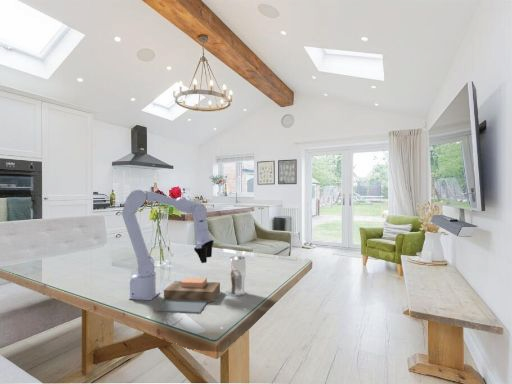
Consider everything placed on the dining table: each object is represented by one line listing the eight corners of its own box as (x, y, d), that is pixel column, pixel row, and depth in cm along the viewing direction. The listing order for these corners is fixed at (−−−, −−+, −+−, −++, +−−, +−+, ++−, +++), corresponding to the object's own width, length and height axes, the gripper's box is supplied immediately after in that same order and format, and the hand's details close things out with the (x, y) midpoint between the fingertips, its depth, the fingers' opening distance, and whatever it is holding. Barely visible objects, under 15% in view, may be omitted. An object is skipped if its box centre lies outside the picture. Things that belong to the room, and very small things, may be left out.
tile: (181, 287, 113) (181, 282, 113) (186, 282, 119) (186, 277, 119) (202, 287, 112) (202, 282, 112) (206, 282, 118) (206, 278, 118)
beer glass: (246, 290, 120) (245, 255, 120) (246, 296, 113) (245, 259, 113) (230, 290, 120) (229, 256, 120) (229, 296, 113) (228, 260, 113)
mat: (156, 311, 100) (156, 309, 100) (168, 300, 110) (168, 299, 110) (199, 313, 98) (199, 311, 98) (207, 301, 108) (207, 300, 108)
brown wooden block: (163, 300, 110) (163, 290, 110) (175, 290, 121) (175, 280, 121) (212, 302, 108) (212, 291, 108) (219, 291, 119) (219, 282, 119)
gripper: (205, 232, 115) (210, 264, 116) (214, 225, 129) (219, 253, 130) (189, 234, 116) (194, 266, 116) (200, 227, 130) (205, 255, 131)
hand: (206, 259), depth 123 cm, fingers open, 7 cm apart
